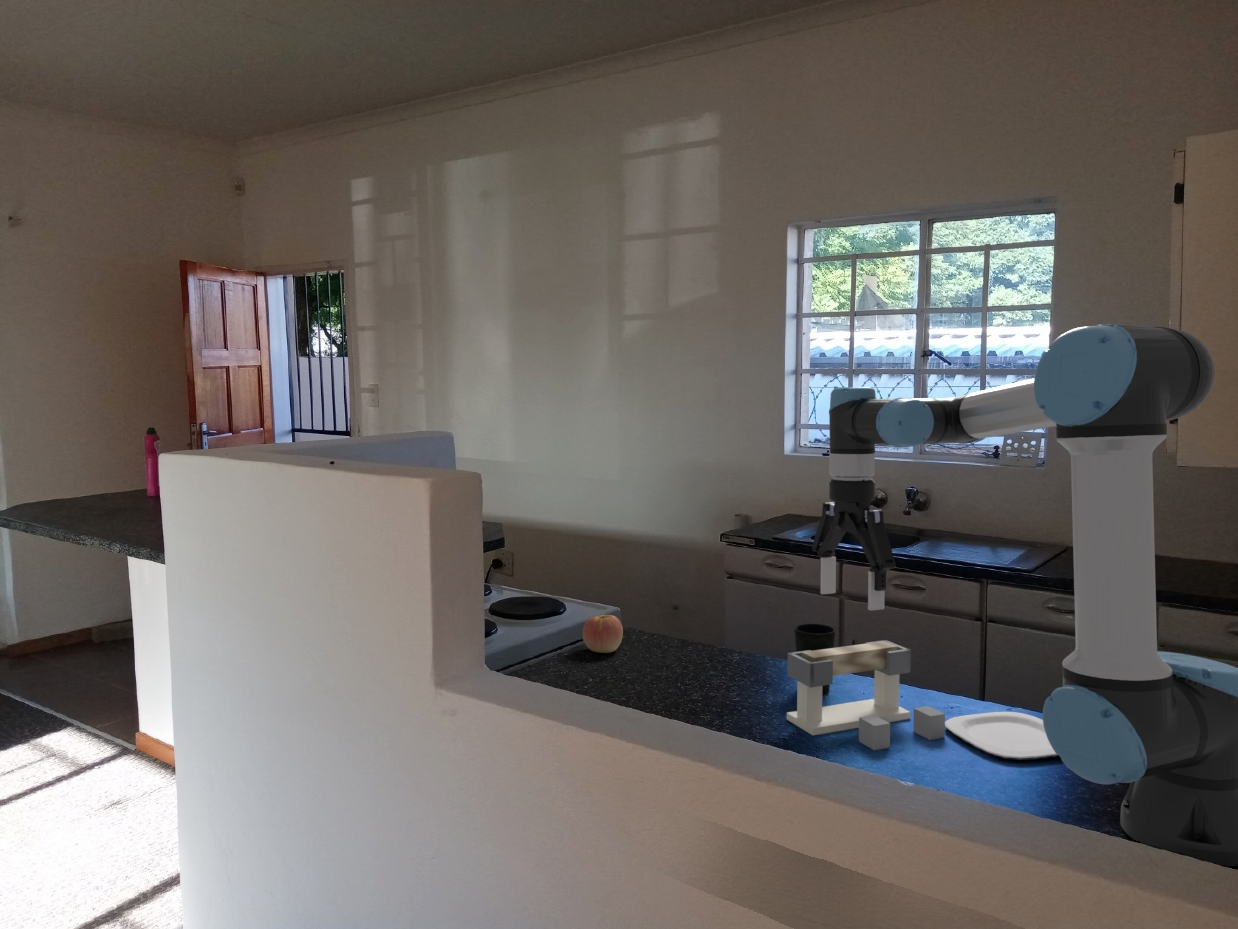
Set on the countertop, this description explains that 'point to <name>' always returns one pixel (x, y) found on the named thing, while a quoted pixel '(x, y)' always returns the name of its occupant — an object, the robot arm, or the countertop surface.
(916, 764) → the countertop surface
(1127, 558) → the robot arm
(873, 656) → the rail
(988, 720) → the plate
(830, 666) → the bracket stand
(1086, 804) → the countertop surface
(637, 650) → the countertop surface
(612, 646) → the apple
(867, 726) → the rests
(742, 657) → the countertop surface
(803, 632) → the cup
